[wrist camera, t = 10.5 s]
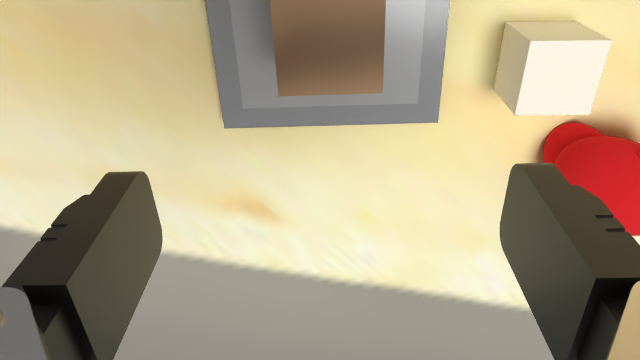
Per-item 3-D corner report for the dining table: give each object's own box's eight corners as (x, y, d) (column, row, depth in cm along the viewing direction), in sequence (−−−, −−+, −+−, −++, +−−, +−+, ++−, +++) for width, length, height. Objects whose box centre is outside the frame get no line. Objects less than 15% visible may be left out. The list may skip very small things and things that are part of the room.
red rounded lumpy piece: (715, 176, 29) (710, 148, 24) (656, 260, 30) (642, 248, 25) (585, 126, 34) (562, 95, 30) (539, 199, 35) (510, 180, 31)
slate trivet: (192, -121, 24) (186, -121, 23) (457, -132, 24) (463, -133, 23) (227, 120, 31) (224, 128, 30) (434, 114, 30) (438, 123, 29)
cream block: (505, 21, 28) (530, 40, 24) (576, 20, 28) (611, 40, 24) (492, 88, 30) (514, 115, 26) (559, 88, 30) (589, 114, 26)
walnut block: (278, -32, 25) (268, -14, 21) (376, -36, 25) (386, -19, 21) (285, 63, 28) (278, 96, 23) (374, 60, 27) (382, 93, 23)
